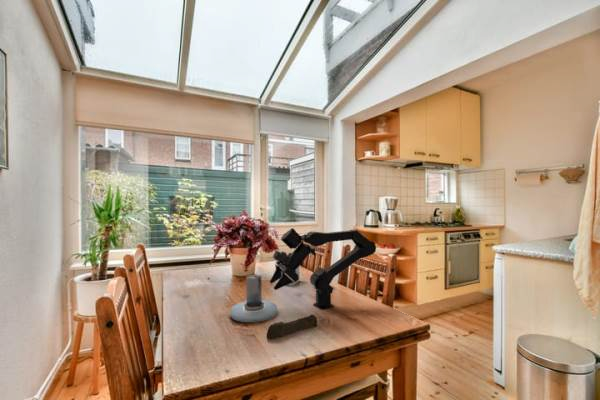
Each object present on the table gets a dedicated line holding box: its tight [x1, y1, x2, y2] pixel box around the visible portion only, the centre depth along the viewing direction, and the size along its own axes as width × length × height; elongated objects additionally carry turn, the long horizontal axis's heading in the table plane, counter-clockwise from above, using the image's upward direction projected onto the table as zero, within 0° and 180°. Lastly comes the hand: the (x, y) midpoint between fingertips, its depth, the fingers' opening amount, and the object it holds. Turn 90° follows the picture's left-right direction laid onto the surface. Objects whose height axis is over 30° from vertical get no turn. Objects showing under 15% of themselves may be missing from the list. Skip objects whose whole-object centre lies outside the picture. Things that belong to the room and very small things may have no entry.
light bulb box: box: [287, 266, 301, 287], centre depth 155 cm, size 11×7×11 cm, turn 161°
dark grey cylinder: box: [244, 274, 264, 311], centre depth 111 cm, size 8×8×12 cm
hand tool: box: [266, 314, 318, 340], centre depth 96 cm, size 19×4×5 cm, turn 121°
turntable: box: [230, 299, 278, 323], centre depth 111 cm, size 18×18×2 cm
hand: (272, 285), depth 113 cm, fingers open, 9 cm apart
